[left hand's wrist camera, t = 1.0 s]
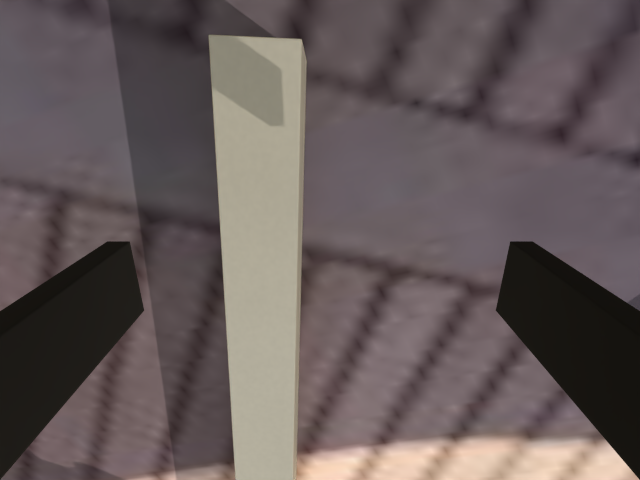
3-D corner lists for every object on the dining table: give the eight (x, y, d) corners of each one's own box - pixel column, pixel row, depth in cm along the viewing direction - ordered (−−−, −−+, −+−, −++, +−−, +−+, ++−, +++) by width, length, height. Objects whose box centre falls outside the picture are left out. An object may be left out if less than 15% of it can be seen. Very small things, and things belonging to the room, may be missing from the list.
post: (241, 57, 25) (208, 34, 17) (306, 60, 25) (301, 38, 17) (258, 594, 47) (247, 686, 39) (293, 594, 47) (288, 687, 39)
